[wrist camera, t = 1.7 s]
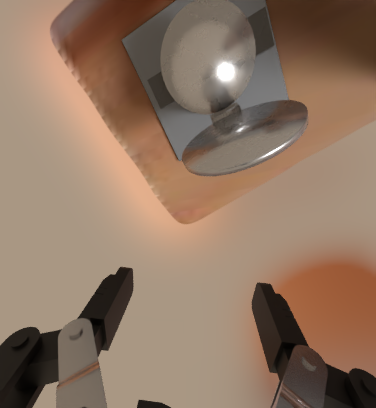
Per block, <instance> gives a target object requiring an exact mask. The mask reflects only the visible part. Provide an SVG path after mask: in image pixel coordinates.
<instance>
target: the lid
mask: <svg viewBox="0 0 376 408" xmlns="http://www.w3.org/2000/svg"><path fill="white" fill-rule="evenodd" d="M211 120H212V123H213V124H212V125H210V126H209V127H207V128H206V129H204V130H203V131H202V132H200V133H199V134H198V135H197V136H195V137H194V138H193V139H192V140H191V141H190V142H189V144H188V145H187V146H186V148H185V149H184V151H183V154H182V161H183V163H184V165H185V167H186V169H187V170H188V171H189V172H191V173H193V174H195V175H200V176H219V175H226V174H231V173H235V172H238V171H242V170H245V169H248V168H251V167H253V166H256V165H258V164H260V163H263V162H265V161H267V160H269V159H271V158H273V157H274V156H276V155H278V154H279V153H281V152H283V151H284V150H285V149H287V148H288V147H289V146H291V145H292V144H293V143H294V142H295V141H297V140H298V139H299V137H300V136H301V135H302V134H303V133H304V131H305V129H306V128H307V125H308V110H307V107H306V106H305V105H304V104H303V103H301V102H298V101H293V100H278V101H271V102H266V103H261V104H258V105H254V106H251V107H248V108H245V109H242V110H241V108H240V105H239V104H238V105H236V106H234V107H232V108H230V109H229V110H227V111H225V112H223V113H221V114H219V115H217V116H215V117H213V118H211Z"/></svg>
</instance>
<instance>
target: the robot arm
mask: <svg viewBox="0 0 376 408" xmlns="http://www.w3.org/2000/svg"><path fill="white" fill-rule="evenodd" d="M132 292H133V269H132V268H126V267H120V268H119V270H118V271H117V273H116V274H115V275H112V274H111V275H109V276H108V277H106V278H105V279H104V280H103V281H102V283H101V284H100V286H99V288H98V289H97V290H96V292H95V294H94V295H93V296H92V298H91V299H90V301H89V302H88V304H87V305H86V307H85V308H84V310H83V311H82V313H81V314H80V316H79V317H78V318H77V319H76V320H73V321H71V322H70V323H68V324H67V325H66V326H65V327H64V328H63V329H61V330H58V331H53V332H48V333H42V334H40V332H39V330H38V329H37V328H35V327H27V328H23V329H21V330H19V331H17V332H15V333H13V334H12V335H11V336H9V337H8V338H7V339H6V340H5V341H4V342H3V343H2V344H1V346H0V408H32V407H33V405H34V403H35V402H36V400H37V398H38V397H39V395H40V393H41V391H42V390H43V388H44V386H45V385H46V384H49V383H53V382H57V381H59V385H58V386H57V390H56V408H107V403H106V398H105V393H104V387H103V382H102V376H101V371H100V366H99V362H98V356H99V354H100V352H101V350H107V351H108V350H109V347H110V345H111V343H112V340H113V338H114V336H115V333H116V331H117V329H118V326H119V324H120V321H121V319H122V317H123V315H124V312H125V310H126V308H127V305H128V303H129V301H130V298H131V296H132ZM252 311H253V314H254V318H255V322H256V325H257V329H258V332H259V336H260V339H261V343H262V346H263V350H264V354H265V357H266V361H267V364H268V368H269V371H270V372H272V373H277V374H278V377H279V380H280V381H279V383H278V386H277V389H276V392H275V395H274V398H273V401H272V404H271V406H270V408H376V378H375V377H374V376H373V375H371V374H369V373H368V372H366V371H364V370H361V369H357V368H355V369H352V370H351V371H350V372H349V374H348V373H346V372H343V371H341V370H339V369H337V368H334V367H332V366H330V365H328V364H326V363H325V362H324V361H323V359H322V358H321V356H320V355H319V354H318V353H317V352H315V351H314V350H313V349H311V348H310V347H309V346H308V344H307V342H306V340H305V338H304V336H303V334H302V332H301V330H300V328H299V326H298V324H297V322H296V320H295V318H294V316H293V314H292V312H291V311H290V308H289V306H288V304H287V302H286V300H285V299H284V298H283V297H282V296H281V295H280V294H276V293H275V292H274V290H273V288H272V286H271V284H266V283H257V284H256V288H255V291H254V295H253V299H252ZM137 408H171V407H169V406H167V405H165V404H163V403H159V402H152V401H145V400H139V401H138V405H137Z"/></svg>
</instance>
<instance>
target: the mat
mask: <svg viewBox="0 0 376 408" xmlns="http://www.w3.org/2000/svg"><path fill="white" fill-rule="evenodd" d="M193 1H195V0H176V1H175V2H173V3H172V4H170V5H169V6H168V7H166V8H165V9H164V10H162V11H161V12H159V13H158V14H157V15H155V16H154V17H153V18H151V19H150V20H148V21H147V22H146V23H144V24H143V25H142V26H140V27H139V28H137V29H136V30H135V31H133V32H132V33H131V34H129V35H128V36H126V37H125V38H124V39H122V42H123V44H124V46H125V48H126V50H127V53H128V55H129V57H130V59H131V61H132V63H133V65H134V67H135V69H136V71H137V74H138V76H139V78H140V80H141V82H142V84H143V86H144V88H145V90H146V92H147V95H148V97H149V99H150V101H151V103H152V105H153V107H154V109H155V111H156V113H157V115H158V118H159V120H160V122H161V124H162V126H163V128H164V130H165V132H166V134H167V136H168V139H169V141H170V143H171V145H172V147H173V149H174V151H175V153H176V155H177V157H178V160H179V161H181V160H182V154H183V151H184V149H185V148H186V146H187V145H188V144H189V142H190V141H191V140H192V139H193V138H194V137H195V136H197V135H198V134H199V133H200V132H202V131H203V130H204V129H206V128H207V127H209V126H210V125H212V124H213V123H212V120H211V117H210V115H212V114H210V115H203V114H198V113H194V112H191V111H189V110H187V109H185V108H184V107H182V106H181V105H179V104H178V103H177V102H174V103H172V104H171V105H169V106H167V107H165V108H163V109H160V106H159V104H158V102H157V100H156V98H155V96H154V94H153V91H152V89H151V87H150V85H149V83H148V81H147V80H148V79H150V78H151V77H153V76H155V75H156V74H158V73H159V72H161V60H160V57H161V48H162V42H163V39H164V36H165V33H166V31H167V28H168V27H169V25H170V23H171V21H172V20H173V18H174V17H175V16H176V15H177V13H178V12H179V11H180V10H181V9H182V8H184V7H185V6H186V5H188V4H189V3H191V2H193ZM228 1H230V2H231V3H233V4H234V5H236V6H237V7H238V8H239V9H240V10H241V11H242V12H243V13H244V15H245V16H246V18H248V17H249V16H251V15H252V14H254V13H256V12H257V11H259V10H260V9H262V8H264V7H265V6H266V11H267V15H268V19H269V23H270V28H271V32H272V36H273V40H274V44H275V45H274V46H273V48H271V49H269V50H267V51H266V52H264V53H262V54H260V55H258V56H257V57H256V58H255V65H254V69H253V73H252V76H251V78H250V81H249V83H248V85H247V87H246V88H245V90H244V91H243V93H242V94H241V95H240V97H239V98H238V99H237V100H236V101H235V102H234V103H236V102H237V104H239V105H240V108H241V110H242V109H245V108H248V107H251V106H254V105H258V104H261V103H266V102H271V101H278V100H289V98H288V94H287V90H286V85H285V81H284V77H283V73H282V68H281V64H280V60H279V56H278V51H277V47H276V43H275V39H274V34H273V30H272V26H271V22H270V17H269V13H268V9H267V5H266V0H228ZM234 103H232V104H234ZM232 104H231V105H232Z"/></svg>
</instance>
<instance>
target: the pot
mask: <svg viewBox="0 0 376 408" xmlns="http://www.w3.org/2000/svg"><path fill="white" fill-rule="evenodd" d="M274 45H275V44H274V40H273V36H272V32H271V28H270V23H269V19H268V15H267V11H266V6H265V7H264V8H262V9H260V10H259V11H257V12H256V13H254V14H252V15H251V16H249V17H248V18H246V16H245V15H244V13H243V12H242V11H241V10H240V9H239V8H238V7H237V6H236V5H234V4H233V3H231V2H230V1H228V0H195V1H193V2H191V3H189V4H188V5H186V6H185V7H184V8H182V9H181V10H180V11H179V12H178V13H177V15H176V16H175V17H174V18H173V20H172V21H171V23H170V25H169V27H168V28H167V31H166V33H165V36H164V39H163V42H162V48H161V57H160V60H161V72H159V73H158V74H156V75H155V76H153V77H151V78H150V79H148V80H147V81H148V83H149V85H150V87H151V89H152V91H153V94H154V96H155V98H156V100H157V102H158V104H159V106H160V109H163V108H165V107H167V106H169V105H171V104H172V103H174V102H177V103H178V104H179V105H181V106H182V107H184V108H185V109H187V110H189V111H191V112H194V113H198V114H203V115H210V114H212V115H210V117H211V118H213V117H215V116H217V115H219V114H221V113H223V112H225V111H227V110H229V109H230V108H232V107H234V106H236V105H238V104H237V102H236V103H234V102H235V101H236V100H237V99H238V98H239V97H240V95H241V94H242V93H243V91H244V90H245V88H246V87H247V85H248V83H249V81H250V78H251V76H252V73H253V69H254V65H255V58H256V57H257V56H258V55H260V54H262V53H264V52H266V51H267V50H269V49H271V48H273V46H274ZM232 103H234V104H232ZM231 104H232V105H231Z"/></svg>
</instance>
